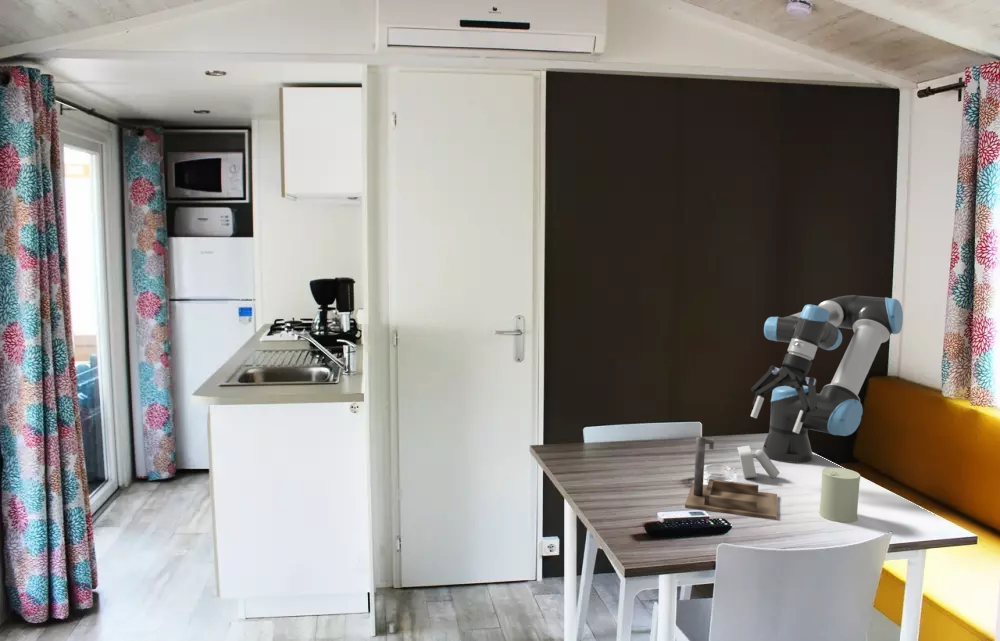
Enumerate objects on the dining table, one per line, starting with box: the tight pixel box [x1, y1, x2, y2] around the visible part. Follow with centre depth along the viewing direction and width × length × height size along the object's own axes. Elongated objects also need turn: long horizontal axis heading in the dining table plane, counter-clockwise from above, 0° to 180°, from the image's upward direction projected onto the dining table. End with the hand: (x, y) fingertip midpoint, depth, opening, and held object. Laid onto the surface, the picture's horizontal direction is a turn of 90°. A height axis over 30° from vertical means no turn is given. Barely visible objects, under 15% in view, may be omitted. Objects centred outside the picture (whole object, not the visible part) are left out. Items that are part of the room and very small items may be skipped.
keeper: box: [684, 436, 778, 520], centre depth 209 cm, size 23×18×17 cm
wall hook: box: [736, 445, 780, 480], centre depth 231 cm, size 8×10×10 cm
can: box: [818, 467, 861, 523], centre depth 200 cm, size 9×9×12 cm
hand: (774, 425), depth 225 cm, fingers open, 13 cm apart
